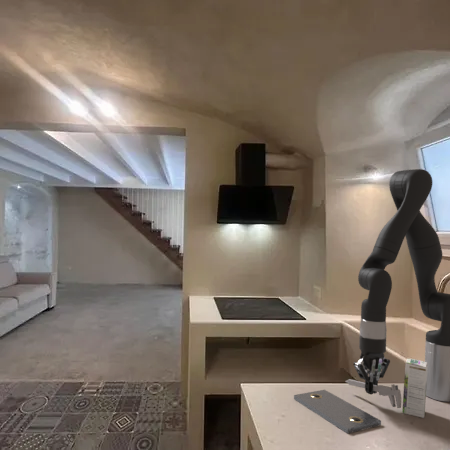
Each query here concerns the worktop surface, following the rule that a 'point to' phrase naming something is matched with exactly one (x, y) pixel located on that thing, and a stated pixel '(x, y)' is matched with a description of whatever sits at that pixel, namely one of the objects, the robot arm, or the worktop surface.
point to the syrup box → (415, 387)
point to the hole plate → (337, 411)
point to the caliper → (382, 391)
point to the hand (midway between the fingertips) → (371, 392)
